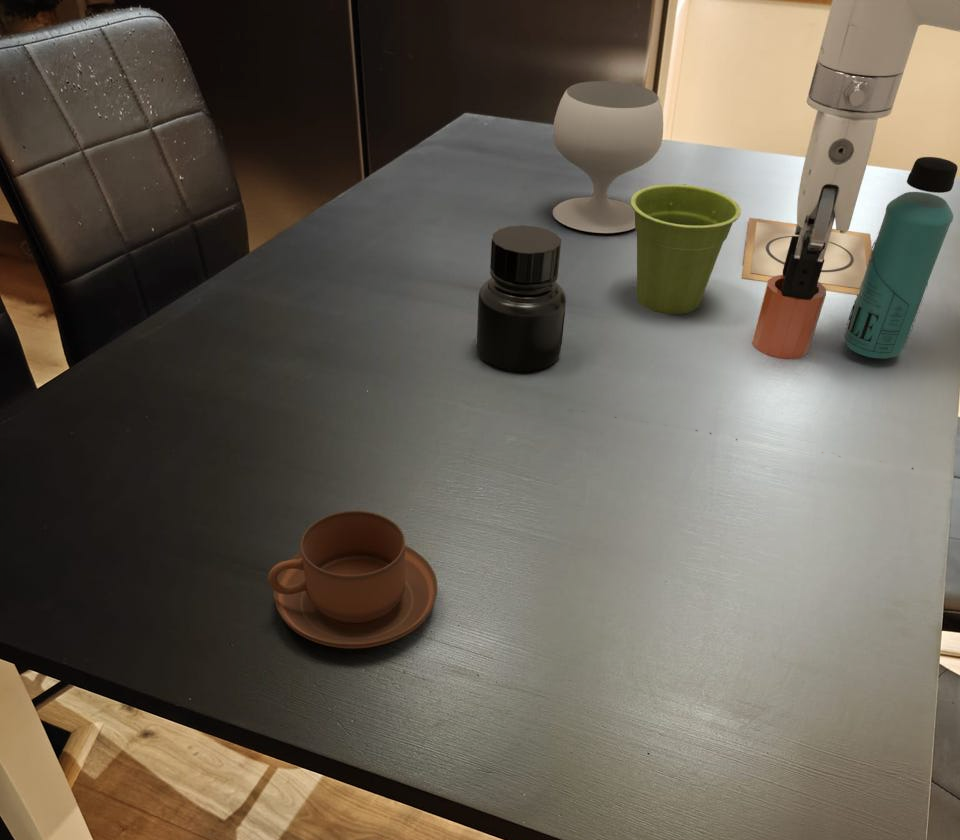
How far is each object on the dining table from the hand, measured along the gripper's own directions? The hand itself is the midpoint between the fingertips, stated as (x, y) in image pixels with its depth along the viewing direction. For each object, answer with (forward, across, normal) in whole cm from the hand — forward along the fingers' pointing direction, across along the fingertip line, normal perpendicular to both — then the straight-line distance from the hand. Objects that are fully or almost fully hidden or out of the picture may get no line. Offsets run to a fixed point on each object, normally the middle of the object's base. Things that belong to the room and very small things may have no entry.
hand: (797, 284), depth 97 cm
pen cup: (+7, 0, 0) cm, 7 cm away
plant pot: (+7, +7, +13) cm, 17 cm away
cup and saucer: (+7, -52, +30) cm, 60 cm away
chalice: (+7, +30, +25) cm, 40 cm away
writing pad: (+7, +26, -3) cm, 27 cm away
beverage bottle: (+7, +1, -9) cm, 12 cm away
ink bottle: (+7, -10, +27) cm, 30 cm away
